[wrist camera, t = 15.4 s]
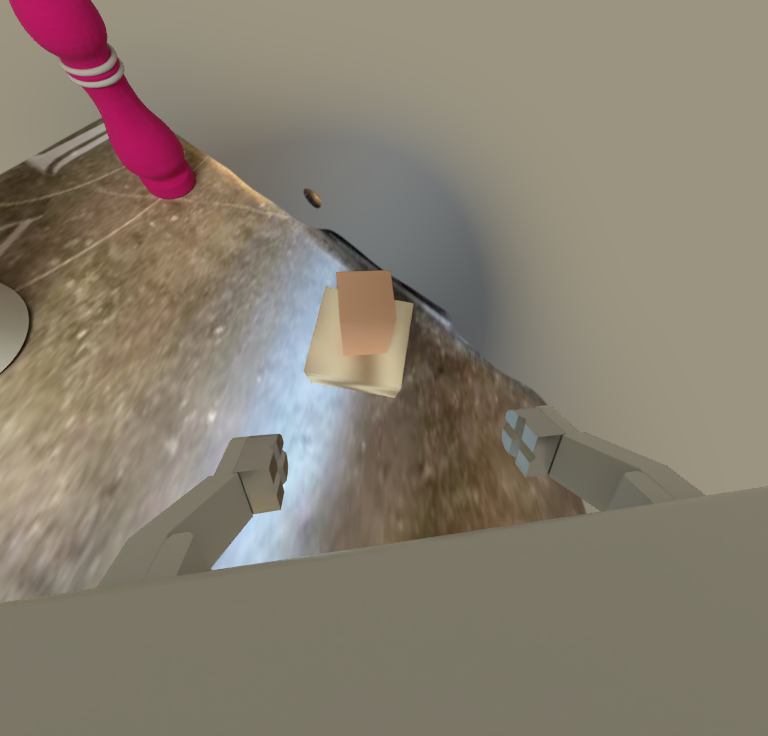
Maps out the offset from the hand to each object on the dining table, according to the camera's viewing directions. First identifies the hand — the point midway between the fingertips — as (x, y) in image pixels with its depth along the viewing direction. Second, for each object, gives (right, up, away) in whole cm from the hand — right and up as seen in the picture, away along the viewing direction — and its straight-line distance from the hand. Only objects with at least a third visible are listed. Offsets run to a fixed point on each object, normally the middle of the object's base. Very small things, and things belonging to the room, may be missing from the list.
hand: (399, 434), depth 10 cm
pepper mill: (-30, +28, +30) cm, 51 cm away
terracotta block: (-3, +6, +21) cm, 22 cm away
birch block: (-3, +4, +25) cm, 26 cm away
